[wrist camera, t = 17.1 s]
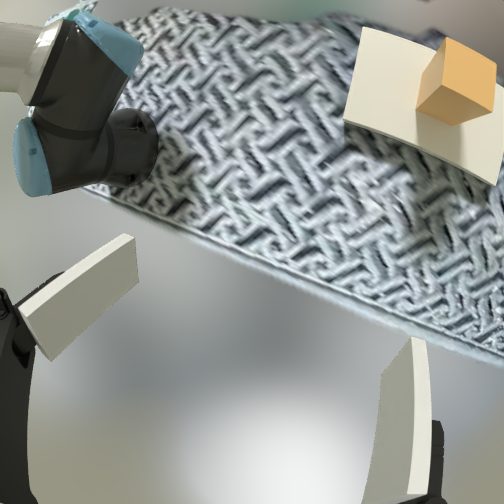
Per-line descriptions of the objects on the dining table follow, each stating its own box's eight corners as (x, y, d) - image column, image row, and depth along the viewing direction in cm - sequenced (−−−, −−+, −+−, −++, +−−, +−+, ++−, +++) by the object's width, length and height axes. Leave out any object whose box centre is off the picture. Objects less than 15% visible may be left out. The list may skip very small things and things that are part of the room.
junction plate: (344, 122, 31) (339, 110, 24) (363, 35, 26) (361, 6, 18) (486, 183, 26) (514, 191, 18) (502, 96, 20) (529, 85, 13)
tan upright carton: (415, 109, 25) (441, 84, 14) (421, 74, 23) (446, 36, 12) (452, 126, 23) (492, 112, 13) (458, 91, 21) (496, 63, 11)
